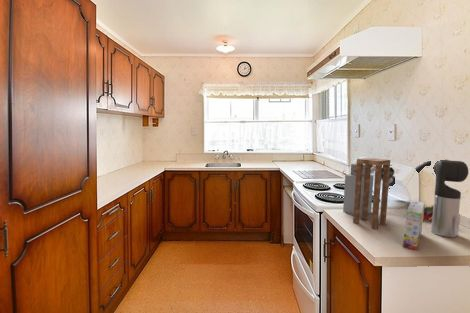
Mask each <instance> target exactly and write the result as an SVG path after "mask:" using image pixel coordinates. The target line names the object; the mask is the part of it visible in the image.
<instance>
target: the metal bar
mask: <svg viewBox="0 0 470 313" xmlns="http://www.w3.org/2000/svg"><path fill="white" fill-rule="evenodd" d="M356 169H357V162H356V163H350V174H351V175H354V176H356ZM373 174H375V171H374V168H371V174H370V175H373ZM362 176H365V164H363V170H362Z"/></svg>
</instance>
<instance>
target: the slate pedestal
mask: <svg viewBox="0 0 470 313" xmlns="http://www.w3.org/2000/svg"><path fill="white" fill-rule="evenodd" d="M374 179H375V174H374V175H373V174H370V188H369V203H368V214H370V213H372V207H373V193H374ZM355 185H356V176H354V175H351V173H347V174H345V175H344V187H343V188H344V192H343V205H342V206H343V208H342V212H345V213H348V214H351V215H354V200H355ZM363 191H364V176H362V185H361V200H360V216H359V217H362V206H363Z"/></svg>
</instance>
